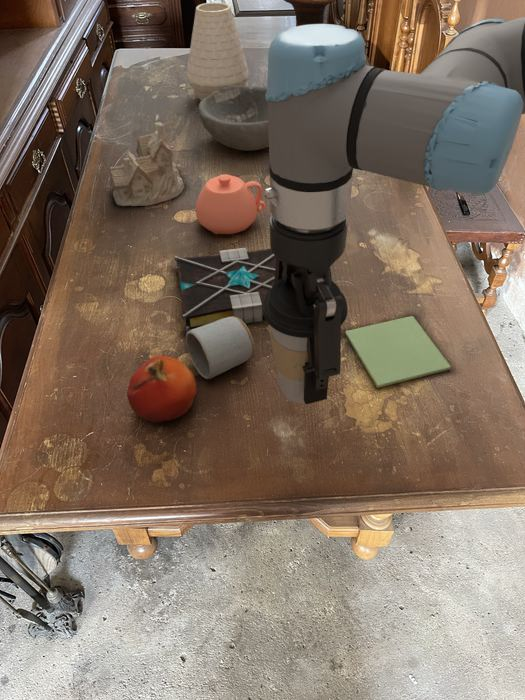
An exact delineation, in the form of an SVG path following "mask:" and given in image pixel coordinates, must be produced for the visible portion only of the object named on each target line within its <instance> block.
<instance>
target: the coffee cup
mask: <svg viewBox="0 0 525 700" xmlns="http://www.w3.org/2000/svg"><path fill="white" fill-rule="evenodd" d="M330 290H331V294H332V296H333V297H336V296H341V297H342V299H343V302H344V303H343V304H344V305H343V310H342V315H341V326H342V325H343V324H344V322H345V321H346V319H347V316H348V303H347V298H346V296H345V295H344V293H343V292H342V290H341V289H340V287H339V286H338V285H337V283H336V282H334V281H333V280H332V282H331V285H330ZM318 300H319V299H315V300H311V301H306V300H304V301H305V303H309V302H314V301H318ZM262 310H263V316H264V317H263V318H264V320H265V322H266V323H267V324H268V331H269V337H270V343H271V349H272V355H273V362H274V365H275V368H276V371H277V372H276V373H277V378H278V385H279V389H280V392H281V393H282V395H283V396H284V397H285V398H286V399H287V400H289V401H291V402H292V403H296V404H305V402H304V376H305V372H304V370H303V366H305V363H306V362H309V361H308V353H307V338H312V337H314V328H310V329H308V328H307V323H309V324H311V325H313V326H314V316H313V317H308V318H306V316H305V314H303V313H302V312H300V311H299V310H298V308H297V301H296V293H295V288H294V287H293V286H285V284H284V281H283V278H281V279H280V280H278V281H277V282H276V283H275V284H274V285H273V286H272V288H271V289H270V291H269V292H268V293H267V294H266V296H265V299H264V303H263V309H262Z"/></svg>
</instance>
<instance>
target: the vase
mask: <svg viewBox="0 0 525 700" xmlns="http://www.w3.org/2000/svg"><path fill="white" fill-rule="evenodd" d="M190 40H191V41H190V47H189V54H188V59H187V60H188V61H187V67H186V74H185V76H186V80H187V82H188V84H189V85H190V87H191V89H192V90H193V92H194V93H195V95H196V97H197V98H198V100H199V99H200V100H201V101H202V100H203V99H204V98H206V97H208V96H209V95H211V94H212V93H213V92H215V91H217V90H219V89H221V88H227V87H230V86H246V85H247V83H248V80H249V78H250V71H249V70H250V69H249V67H248V62H247V60H246V56H245V52H244V50H243V45H242V42H241V38H240V36H239V31H238V28H237V25H236V21H235V18H234V15H233V11H232V7H231V5H230V4H229V3H225V2H205V3H201V4H198V5H197V6H196V7H195V13H194V20H193V27H192V33H191V39H190ZM200 100H199V101H200ZM201 101H200V102H201Z"/></svg>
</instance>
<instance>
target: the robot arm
mask: <svg viewBox="0 0 525 700" xmlns="http://www.w3.org/2000/svg"><path fill="white" fill-rule="evenodd" d="M267 53H268V56H267V77H266V78H267V80H266V82H267V83H266V88H267V92H266V94H265V97H266V100H267V106H268V130H269V147H268V152H269V154H268V155H269V161H268V163H269V164H268V167H269V171H268V173H269V177H268V178H269V187H267V188H265V189H264V190H263V191H264V192H263V193H264V198H265V199H267V200H269V212H270V216H269V247H270V248H271V250H272V252H273V254H274V255H275V256H276V264H275V280H274V284H275V283H276V282H277V281H278V280H280V279H281V278H283V281H284V284H285V286H293V287H294V288H295V293H296V301H297V308H298V310H299V311H300V312H302V313H303V314H305V316H306V318H308V317H313V316H314V326H313V325H311V324H309V323H307V328H308V329H310V328H314V337H312V338H307V353H308V361H309V362H306V363H305V366H303V370H304V372H305V376H304V402H305V403H304V404H305V405H310V404H313V403H318V402H321V401H325V400H328V390H329V382H330V381H329V380H330V377H334V376H338V375H341V361H342V360H341V358H342V357H341V353H342V352H341V351H342V350H341V349H342V347H341V346H342V345H341V344H342V341H341V340H342V325H341V315H342V310H343V305H344V304H343V303H344V302H343V299H342V297H341V296H336V297H333V296H332V294H331V290H330V285H331V282H332V281H333V279H332V278H333V277H332V270H331V267H332V266H333V264H334V263H335V262H336V261H337V260H339V259H340V258H341V257H342V255H343V254H344V252H345V250H346V247H347V235H348V227H349V218H348V216H349V214H350V208H351V198H352V189H353V180H354V179H353V178H354V170H358V171H363V172H364V171H365V172H369V173H372V174H376V175H381V176H385V177H389V178H393V179H396V180H400V181H405V182H408V183H412V184H417V185H420V186H423V187H427V188H431V189H432V190H436V191H439V192H442V191H443V192H448V191H451V192H457V193H462V194H470V195H474V196H481V195H485V194H487V193H490V192H491V191H492V190H493V189H494V188H495V187H496V186H497V184H498V183H499V180H500V178H501V175H502V173H503V171H504V169H505V166H506V164H507V161H508V159H509V156H510V153H511V151H512V148H513V145H514V142H515V140H516V136H517V132H518V128H519V126H520V123H521V119H522V115H525V16H522V17H518V18H515V19H510V20H507V19H503V18H488V19H483V20H480V21H477V22H476V23H474V24H472V25H470V26H467V27H466V28H464V29H462V30H461V31H460V32H459V33H457V35H454V36H453V37H452V38H451V40H449V42H448V43H447V44H446V45H445V47H444V48H443V49H442V51H441V52H440V53H438V55H437V56H436V57H435V58H434V59H433V60H432V61H431V63H429V64H428V65H427V67H426V68H425V69H424V70H422V72H420V73H415V72H414V73H413V72H405V71H397V70H387V69H386V68H380V67H377V66H373V65H368V64H366V63H367V55H366V42H365V39H364V38H363V35H362V34H361V33H360V32H359V31H357V30H356V29H354V28H353V29H352V28H346V26H344V25H340V24H333V23H332V24H331V23H324V24H309V25H302V26H297V27H296V26H293V27H290V28H287V29H286V30H284V31H282V32H280V33H278V34H277V35H275V37H274V38H273V39H272V40H271V42H270V45H269V47H268V52H267ZM315 299H319V300H318V301H314V302H309V303H305V301H304V300H306V301H311V300H315Z"/></svg>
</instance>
